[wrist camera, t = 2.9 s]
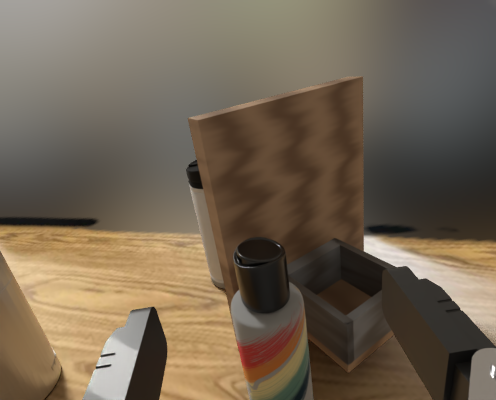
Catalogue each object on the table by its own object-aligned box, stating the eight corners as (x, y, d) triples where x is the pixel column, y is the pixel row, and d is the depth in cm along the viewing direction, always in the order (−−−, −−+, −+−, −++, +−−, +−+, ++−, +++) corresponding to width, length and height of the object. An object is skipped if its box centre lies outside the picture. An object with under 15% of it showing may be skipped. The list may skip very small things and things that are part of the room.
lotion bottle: (248, 408, 34) (210, 239, 26) (299, 386, 35) (278, 219, 27) (269, 467, 29) (230, 281, 21) (327, 439, 30) (313, 254, 22)
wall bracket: (310, 435, 31) (276, 136, 19) (238, 351, 41) (187, 118, 29) (435, 324, 40) (463, 74, 28) (352, 276, 50) (348, 76, 38)
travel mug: (253, 286, 51) (232, 160, 43) (210, 292, 51) (180, 168, 43) (251, 262, 57) (232, 147, 48) (213, 267, 57) (186, 154, 49)
